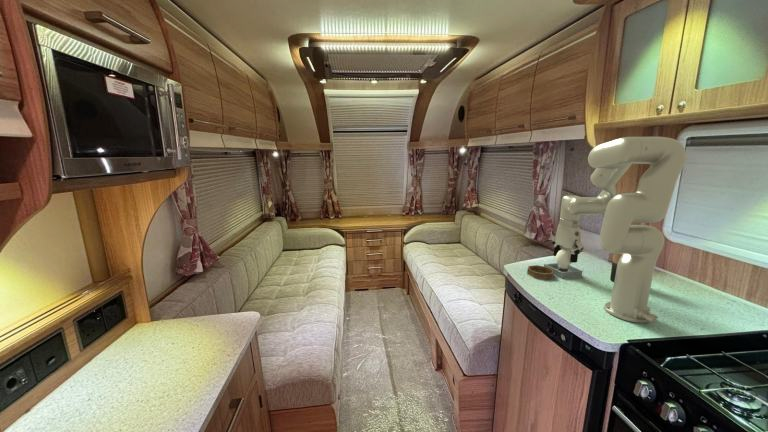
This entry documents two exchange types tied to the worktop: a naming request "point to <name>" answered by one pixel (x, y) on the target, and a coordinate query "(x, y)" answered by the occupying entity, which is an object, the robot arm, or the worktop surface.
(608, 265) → the worktop surface
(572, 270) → the tray
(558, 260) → the light bulb
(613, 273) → the travel mug
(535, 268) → the holder ring
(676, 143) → the robot arm
